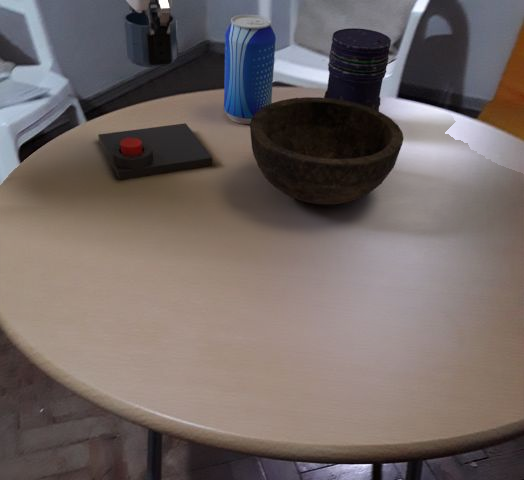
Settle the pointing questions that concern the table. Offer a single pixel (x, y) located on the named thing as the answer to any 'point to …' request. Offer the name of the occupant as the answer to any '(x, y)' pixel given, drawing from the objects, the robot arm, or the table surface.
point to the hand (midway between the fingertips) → (151, 52)
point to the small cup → (144, 38)
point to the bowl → (324, 148)
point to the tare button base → (156, 151)
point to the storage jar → (357, 66)
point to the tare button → (131, 146)
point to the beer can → (248, 66)
